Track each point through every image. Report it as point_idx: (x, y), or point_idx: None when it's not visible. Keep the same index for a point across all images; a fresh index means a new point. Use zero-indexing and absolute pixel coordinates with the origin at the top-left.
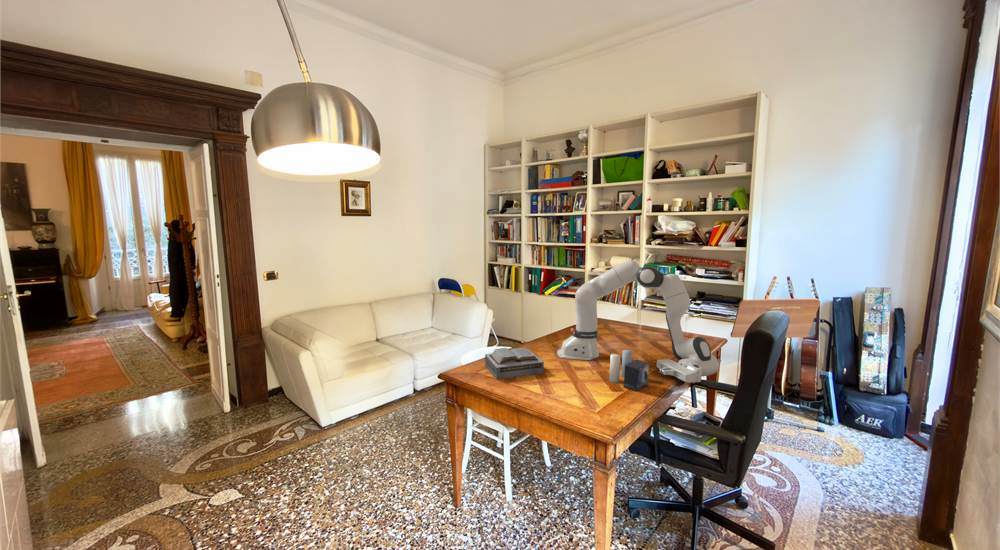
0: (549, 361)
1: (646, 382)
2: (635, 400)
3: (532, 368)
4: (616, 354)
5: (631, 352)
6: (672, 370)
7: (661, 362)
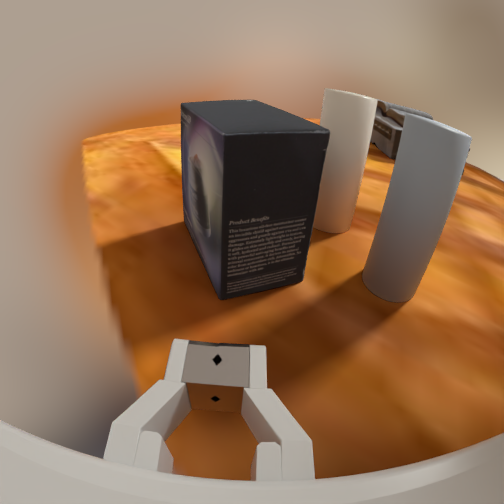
0: (474, 191)
1: (207, 260)
2: (127, 192)
3: (381, 133)
4: (365, 97)
5: (417, 119)
6: (121, 437)
7: (460, 455)
